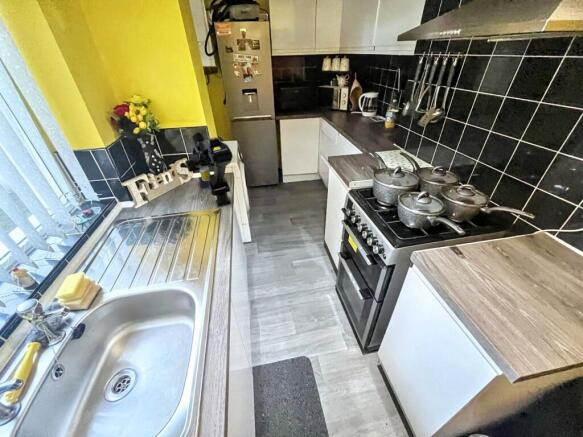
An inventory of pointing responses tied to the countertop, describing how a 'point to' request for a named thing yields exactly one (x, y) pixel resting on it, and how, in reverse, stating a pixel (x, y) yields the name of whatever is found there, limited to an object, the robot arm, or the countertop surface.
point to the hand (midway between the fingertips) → (203, 168)
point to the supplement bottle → (205, 173)
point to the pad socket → (204, 183)
